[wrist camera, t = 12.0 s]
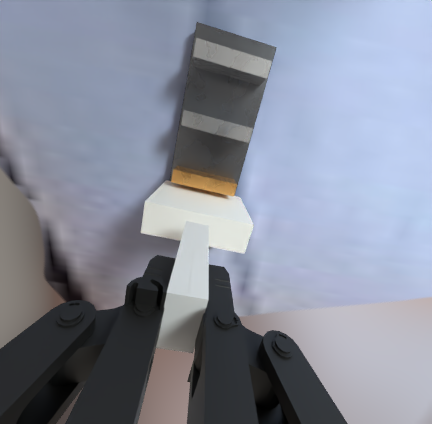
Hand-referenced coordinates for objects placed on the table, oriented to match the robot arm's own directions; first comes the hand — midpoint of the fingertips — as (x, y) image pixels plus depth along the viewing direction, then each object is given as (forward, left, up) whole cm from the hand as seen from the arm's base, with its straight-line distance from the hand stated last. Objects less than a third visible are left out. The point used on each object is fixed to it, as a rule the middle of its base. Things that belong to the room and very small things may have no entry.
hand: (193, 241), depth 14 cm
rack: (-5, 0, -10) cm, 11 cm away
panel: (0, 0, -9) cm, 9 cm away
